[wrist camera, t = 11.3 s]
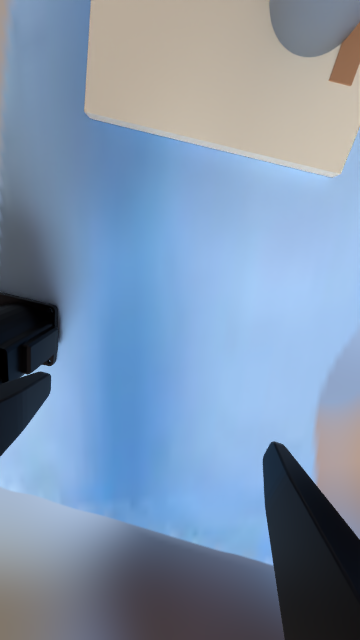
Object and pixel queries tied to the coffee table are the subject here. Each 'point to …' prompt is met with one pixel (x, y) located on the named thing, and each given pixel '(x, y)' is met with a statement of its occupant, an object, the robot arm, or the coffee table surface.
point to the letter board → (222, 81)
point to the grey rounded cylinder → (313, 24)
